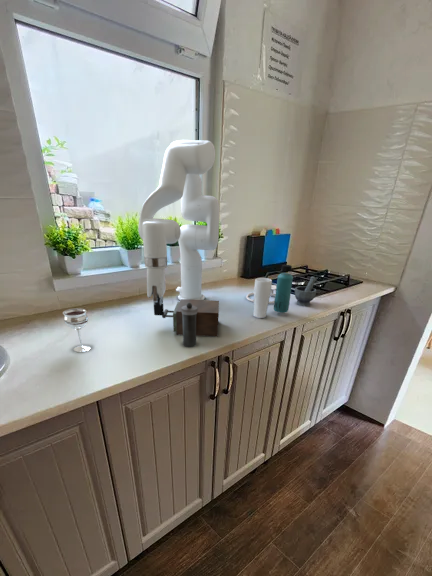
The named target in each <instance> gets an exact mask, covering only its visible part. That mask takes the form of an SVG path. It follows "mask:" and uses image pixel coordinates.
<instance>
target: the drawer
mask: <svg viewBox="0 0 432 576" xmlns="http://www.w3.org/2000/svg"><path fill="white" fill-rule="evenodd" d="M179 303H180V301H177V302H176V305H175V307H174V310H169V309H168V308H166V309H164V313H163V315H162V316H161V317H162V318H163V319H166V318H172V324H173V326H172V328H173V332H174V333H177V325H176V311H177V308H178V305H179ZM168 313H169V314H168ZM170 313H171V314H170Z"/></svg>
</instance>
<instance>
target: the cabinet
mask: <svg viewBox="0 0 432 576" xmlns="http://www.w3.org/2000/svg"><path fill="white" fill-rule="evenodd" d="M179 302H180V303H179V305H178V308H177V311H176V325H177V332H176V336H183V315H182V313H181V308H182V307H183V306H186V305H187V303H191V304H192V306H196V307H197V314H196V337H216V338H217V337H218V336H219V315H220V313H219V312H220V310H219V309H220V300H217V299H216V300H214V299H213V300H212V299H204V300H191V299H181V300H179Z"/></svg>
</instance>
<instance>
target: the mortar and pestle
mask: <svg viewBox="0 0 432 576" xmlns="http://www.w3.org/2000/svg"><path fill="white" fill-rule="evenodd" d="M309 278H310V279H309V281H308V283H307V285H306V286H296V287H295V288H294V297H295V299H296V305H298V306H301V307H308V306H310V305H311V302H312V301H313V300H314V299H315V298H316V295H317V289H316V288H314V285H315V282H316V281H317V277H315V276H310V277H309Z"/></svg>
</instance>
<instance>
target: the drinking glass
mask: <svg viewBox="0 0 432 576" xmlns="http://www.w3.org/2000/svg"><path fill="white" fill-rule="evenodd" d="M272 285H273V280H272V279H271V278H268V277H257V278H255V279H254V285H253V286H254V287H253V293H254V295H253V300H254V302H253V314H252V315H253V317H254V318H256V319H264V318H266V317H267V312H268V308H269V304H268V303H269V302H270V298H271V296H270V293H271V287H272Z"/></svg>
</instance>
